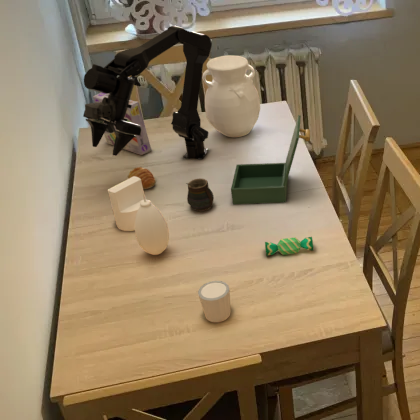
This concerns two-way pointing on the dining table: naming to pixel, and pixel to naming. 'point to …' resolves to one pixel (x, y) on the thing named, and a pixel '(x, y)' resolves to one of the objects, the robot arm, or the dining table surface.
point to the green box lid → (294, 147)
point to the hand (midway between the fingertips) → (104, 151)
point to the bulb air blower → (151, 228)
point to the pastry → (143, 177)
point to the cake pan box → (133, 116)
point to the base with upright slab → (126, 202)
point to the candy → (289, 246)
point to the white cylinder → (215, 300)
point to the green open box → (259, 183)
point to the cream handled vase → (231, 96)
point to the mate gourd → (199, 195)
